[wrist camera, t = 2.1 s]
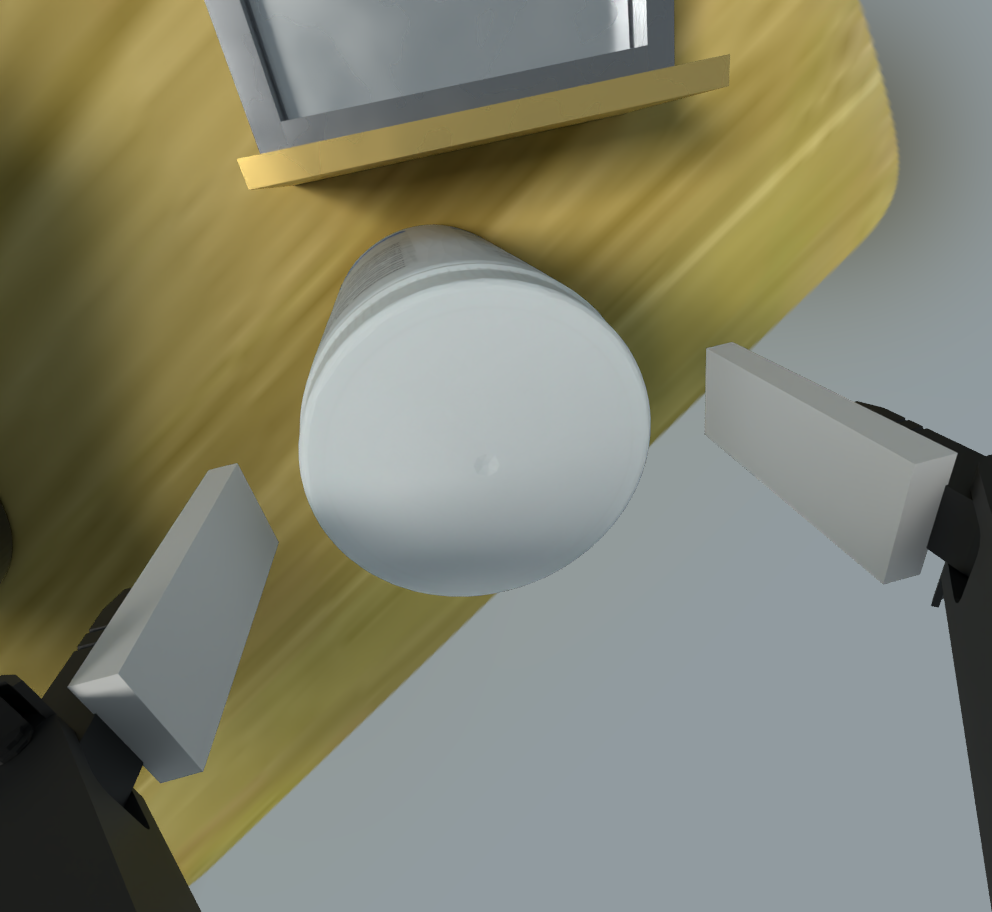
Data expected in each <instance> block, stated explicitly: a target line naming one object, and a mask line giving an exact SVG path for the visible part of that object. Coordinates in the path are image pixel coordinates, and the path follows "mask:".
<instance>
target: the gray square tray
mask: <svg viewBox="0 0 992 912" xmlns="http://www.w3.org/2000/svg"><path fill="white" fill-rule="evenodd" d="M204 1H205V3H206V6H207V9H208V12H209V14H210V17H211V20H212V23H213V25H214V28H215V31H216V34H217V36H218V39H219V42H220V45H221V47H222V50H223V53H224V56H225V58H226V61H227V64H228V66H229V69H230V72H231V75H232V77H233V80H234V83H235V86H236V88H237V91H238V94H239V97H240V99H241V102H242V105H243V108H244V110H245V113H246V116H247V119H248V121H249V124H250V127H251V130H252V132H253V135H254V138H255V140H256V143H257V146H258V149H259V151H260V154H258V155H253V156H248V157H244V158H239V159H237V160H238V163H239V166H240V168H241V171H242V173H243V176H244V178H245V181H246V184H247V186H248V189H249V190H254V189H264V188H274V187H284V186H294V185H298V184H303V183H307V182H312V181H317V180H321V179H326V178H330V177H335V176H340V175H344V174H349V173H353V172H358V171H363V170H367V169H372V168H376V167H381V166H386V165H390V164H395V163H399V162H404V161H409V160H413V159H418V158H422V157H427V156H432V155H436V154H441V153H445V152H450V151H455V150H459V149H464V148H468V147H473V146H478V145H482V144H487V143H491V142H496V141H501V140H505V139H510V138H514V137H519V136H524V135H528V134H533V133H537V132H542V131H547V130H551V129H556V128H560V127H565V126H570V125H574V124H579V123H583V122H588V121H593V120H597V119H602V118H606V117H611V116H616V115H620V114H625V113H629V112H633V111H636V110H640V109H644V108H648V107H651V106H655V105H659V104H663V103H666V102H670V101H674V100H678V99H682V98H685V97H689V96H693V95H697V94H700V93H704V92H708V91H712V90H715V89H719V88H723V87H727V86H729V64H730V54H728V55H723V56H719V57H714V58H709V59H705V60H700V61H695V62H691V63H686V64H681V65H676V66H674V0H204Z"/></svg>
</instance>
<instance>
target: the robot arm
mask: <svg viewBox="0 0 992 912" xmlns="http://www.w3.org/2000/svg"><path fill="white" fill-rule="evenodd" d="M705 435H706V436H707V437H708V438H710V439H711V440H712V441H713V442H714V443H716V444H717V445H718V446H719V447H720V448H722V449H723V450H724V451H725V452H726V453H728V454H729V455H730V456H731V457H732V458H733V459H735V460H736V461H737V462H738V463H739V464H741V465H742V466H743V467H744V468H746V469H747V470H748V471H749V472H750V473H751V474H753V475H754V476H755V477H756V478H757V479H758V480H760V481H761V482H762V483H763V484H764V485H766V486H767V487H768V488H769V489H770V490H772V491H773V492H774V493H775V494H776V495H777V496H779V497H780V498H781V499H782V500H784V501H785V502H786V503H787V504H788V505H789V506H791V507H792V508H793V509H794V510H795V511H797V512H798V513H799V514H800V515H801V516H802V517H804V518H805V519H806V520H807V521H808V522H810V523H811V524H812V525H813V526H814V527H816V528H817V529H818V530H819V531H820V532H822V533H823V534H824V535H825V536H826V537H827V538H829V539H830V540H831V541H832V542H833V543H835V544H836V545H837V546H838V547H839V548H841V549H842V550H843V551H844V552H845V553H847V554H848V555H849V556H850V557H851V558H852V559H854V560H855V561H856V562H857V563H858V564H860V565H861V566H862V567H863V568H864V569H866V570H867V571H868V572H869V573H871V574H872V575H873V576H874V577H875V578H876V579H877V580H879V581H880V582H881V583H882V584H887V583H890V582H893V581H897V580H901V579H905V578H908V577H912V576H916V575H919V574H920V573H921V569H922V567H923V563H924V560H925V557H926V554H927V550H930V551H931V552H933V553H934V554H935V555H937V556H938V557H940V558H941V559H943V560H944V561H945V565H944V567H943V570H942V573H941V576H940V579H939V582H938V585H937V588H936V591H935V594H934V597H933V601H932V604H931V606H934V607H939V605H940V602H941V600H942V599H944V601H945V608H946V614H947V621H948V627H949V634H950V640H951V647H952V653H953V659H954V667H955V673H956V680H957V686H958V693H959V699H960V705H961V712H962V718H963V725H964V731H965V738H966V745H967V752H968V758H969V765H970V771H971V778H972V784H973V791H974V798H975V804H976V811H977V817H978V823H979V830H980V837H981V843H982V850H983V856H984V863H985V870H986V876H987V882H988V889H989V896H990V902H991V909H992V455H988V456H984V455H982V454H980V453H978V452H976V451H974V450H972V449H969V448H967V447H965V446H963V445H961V444H959V443H957V442H955V441H952V440H950V439H948V438H946V437H944V436H942V435H940V434H938V433H936V432H934V431H932V430H929V429H923V426H921V425H919V424H917V423H915V422H912V421H910V420H907V421H906V420H905V418H904V417H902V416H900V415H898V414H896V413H894V412H891V411H889V410H887V409H885V408H882V407H878V406H874V405H870V404H866V403H862V402H858V401H856V402H853V401H851V400H849V399H847V398H845V397H843V396H841V395H839V394H837V393H835V392H833V391H831V390H829V389H827V388H825V387H822V386H821V385H818V384H816V383H815V382H812V381H811V380H808V379H806V378H804V377H802V376H800V375H798V374H796V373H794V372H792V371H790V370H788V369H786V368H784V367H782V366H780V365H778V364H776V363H774V362H772V361H770V360H768V359H766V358H764V357H762V356H760V355H758V354H756V353H754V352H752V351H750V350H748V349H746V348H744V347H742V346H740V345H737V344H735V343H733V342H730V343H726V344H722V345H718V346H714V347H710V348H706V394H705ZM278 543H279V542H278V540H277V538H276V536H275V534H274V532H273V531H272V529H271V527H270V525H269V523H268V521H267V519H266V517H265V515H264V513H263V511H262V509H261V507H260V506H259V504H258V502H257V500H256V498H255V496H254V494H253V492H252V490H251V488H250V486H249V484H248V483H247V481H246V479H245V477H244V475H243V473H242V471H241V469H240V467H239V465H238V463H236V464H232V465H228V466H224V467H219V468H215V469H211V470H208V472H207V473H206V475H205V476H204V478H203V479H202V481H201V483H200V484H199V486H198V487H197V489H196V490H195V492H194V493H193V495H192V496H191V498H190V499H189V501H188V502H187V504H186V506H185V507H184V509H183V510H182V512H181V513H180V515H179V516H178V518H177V519H176V521H175V522H174V524H173V526H172V527H171V529H170V530H169V532H168V533H167V535H166V536H165V538H164V539H163V541H162V542H161V544H160V545H159V547H158V549H157V550H156V552H155V553H154V555H153V556H152V558H151V559H150V561H149V562H148V564H147V565H146V567H145V569H144V570H143V572H142V573H141V575H140V576H139V578H138V579H137V581H136V582H135V584H134V585H133V587H132V588H128V589H125V590H123V591H122V592H121V593H120V594H119V595H118V596H117V597H116V598H115V599H114V600H113V601H112V602H110V603H109V604H108V605H107V606H106V607H105V608H104V609H103V610H102V612H101V613H100V615H99V616H98V617H97V619H96V620H95V622H94V623H93V625H92V626H91V628H90V629H89V631H90V633H88V634H86V635H85V636H84V638H83V639H82V641H81V642H80V644H79V645H78V651H74V652H73V654H72V655H71V657H70V658H69V660H68V661H67V663H66V664H65V666H64V667H63V668H62V670H61V671H60V673H59V674H58V676H57V677H56V679H55V680H54V682H53V683H52V685H51V686H50V687H49V689H48V690H47V692H46V693H45V695H44V696H43V698H42V699H41V698H40V697H39V696H38V695H37V694H36V693H35V692H34V691H33V690H32V689H31V688H30V687H29V686H28V685H27V684H26V683H25V682H24V681H23V680H21V679H20V678H19V677H18V676H16V675H1V676H0V912H201V910H200V908H199V906H198V904H197V903H196V900H195V898H194V896H193V895H192V893H191V891H190V889H189V887H188V885H187V883H186V881H185V879H184V877H183V875H182V873H181V871H180V869H179V867H178V865H177V863H176V861H175V859H174V857H173V855H172V853H171V851H170V849H169V847H168V845H167V844H166V842H165V840H164V838H163V836H162V834H161V832H160V830H159V828H158V826H157V824H156V822H155V820H154V818H153V816H152V814H151V812H150V810H149V808H148V806H147V804H146V802H145V800H144V798H143V797H142V796H141V795H140V794H139V793H138V792H137V791H136V790H135V789H134V788H133V786H134V784H135V782H136V779H137V777H138V775H139V773H140V770H141V768H142V766H144V767H145V768H146V769H147V770H148V771H149V772H150V773H151V774H152V775H153V776H154V777H155V778H156V779H157V780H158V781H159V782H160V783H163V782H167V781H170V780H174V779H178V778H181V777H185V776H188V775H192V774H196V773H199V772H203V770H204V767H205V764H206V761H207V758H208V755H209V752H210V749H211V746H212V743H213V740H214V737H215V734H216V731H217V728H218V725H219V722H220V719H221V716H222V713H223V710H224V707H225V704H226V701H227V698H228V695H229V692H230V689H231V686H232V683H233V679H234V676H235V673H236V670H237V667H238V664H239V661H240V658H241V655H242V652H243V649H244V646H245V643H246V640H247V637H248V634H249V631H250V628H251V625H252V622H253V619H254V616H255V613H256V610H257V607H258V604H259V601H260V598H261V595H262V592H263V589H264V586H265V583H266V580H267V576H268V573H269V570H270V567H271V564H272V561H273V558H274V555H275V552H276V549H277V546H278ZM11 557H12V534H11V529H10V525H9V521H8V518H7V516H6V513H5V511H4V509H3V506H2V504H1V503H0V583H1V582H2V580H3V579H4V577H5V575H6V573H7V571H8V568H9V565H10V561H11Z"/></svg>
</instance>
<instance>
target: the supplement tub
mask: <svg viewBox="0 0 992 912" xmlns="http://www.w3.org/2000/svg"><path fill="white" fill-rule="evenodd" d="M650 425H651V416H650V406H649V399H648V395H647V390H646V386H645V383H644V380H643V377H642V374H641V372H640V369H639V367H638V365H637V362H636V361H635V359H634V357H633V355H632V353H631V352H630V350H629V348H628V347H627V345H626V344H625V343H624V341H623V340H622V339H621V337H620V336H619V335H618V334H617V333H616V331H615V330H614V329H613V328H612V327H611V326H610V325H609V324H608V323H607V322H606V321H605V320H604V318H603V317H602V316H601V315H600V314H599V312H598V311H597V310H596V309H595V308H594V307H593V306H592V305H591V304H589V303H588V302H587V301H586V300H585V299H584V298H582V297H581V296H580V295H578V294H577V293H576V292H575V291H573V290H571V289H570V288H568V287H567V286H565V285H563V284H561V283H560V282H558V281H557V280H555V279H553V278H551V277H550V276H548V275H546V274H545V273H543V272H541V271H540V270H538V269H536V268H534V267H533V266H531V265H529V264H527V263H526V262H524V261H522V260H520V259H519V258H517V257H515V256H513V255H511V254H510V253H508V252H506V251H504V250H502V249H501V248H499V247H497V246H496V245H494V244H492V243H490V242H488V241H487V240H485V239H483V238H481V237H479V236H477V235H475V234H473V233H470V232H468V231H465V230H462V229H459V228H456V227H451V226H445V225H435V224H433V225H421V226H414V227H410V228H406V229H403V230H400V231H398V232H395V233H393V234H391V235H389V236H387V237H385V238H383V239H382V240H380V241H378V242H377V243H375V244H374V245H373V246H371V247H370V248H369V249H368V250H367V251H366V252H364V253H363V254H362V255H361V256H360V257H359V259H358V260H357V261H356V262H355V263H354V265H353V266H352V268H351V269H350V271H349V273H348V274H347V276H346V278H345V280H344V282H343V284H342V286H341V288H340V291H339V293H338V296H337V299H336V302H335V304H334V307H333V310H332V313H331V315H330V318H329V320H328V323H327V326H326V328H325V331H324V334H323V337H322V339H321V342H320V345H319V347H318V350H317V353H316V355H315V358H314V361H313V364H312V367H311V370H310V374H309V377H308V380H307V383H306V387H305V391H304V395H303V400H302V406H301V415H300V437H299V465H300V473H301V478H302V482H303V487H304V490H305V494H306V496H307V499H308V502H309V504H310V507H311V509H312V511H313V513H314V515H315V517H316V519H317V520H318V522H319V524H320V526H321V527H322V529H323V530H324V531H325V533H326V534H327V535H328V537H329V538H330V539H331V540H332V541H333V542H334V544H335V545H336V546H337V547H338V548H339V549H340V550H341V551H342V552H343V553H344V554H345V555H346V556H347V557H349V558H350V559H351V560H352V561H354V562H355V563H356V564H358V565H359V566H361V567H362V568H363V569H365V570H366V571H368V572H369V573H371V574H373V575H375V576H377V577H379V578H381V579H383V580H385V581H387V582H389V583H391V584H394V585H397V586H400V587H403V588H406V589H409V590H412V591H416V592H421V593H426V594H432V595H441V596H479V595H487V594H493V593H499V592H504V591H508V590H512V589H515V588H518V587H522V586H525V585H527V584H530V583H533V582H535V581H538V580H540V579H542V578H545V577H547V576H549V575H551V574H553V573H555V572H556V571H558V570H560V569H562V568H563V567H565V566H567V565H568V564H570V563H571V562H572V561H574V560H575V559H577V558H578V557H580V556H581V555H582V554H584V553H585V552H586V551H587V550H589V549H590V548H591V547H592V546H593V545H594V544H595V543H596V542H597V541H599V539H601V538H602V536H604V534H605V533H606V532H607V531H608V530H609V529H610V528H611V526H612V525H613V524H614V523H615V522H616V520H617V519H618V518H619V516H620V515H621V514H622V512H623V511H624V509H625V508H626V506H627V505H628V503H629V501H630V499H631V497H632V495H633V494H634V492H635V490H636V487H637V485H638V482H639V480H640V478H641V475H642V472H643V469H644V466H645V463H646V459H647V453H648V448H649V441H650Z"/></svg>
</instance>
